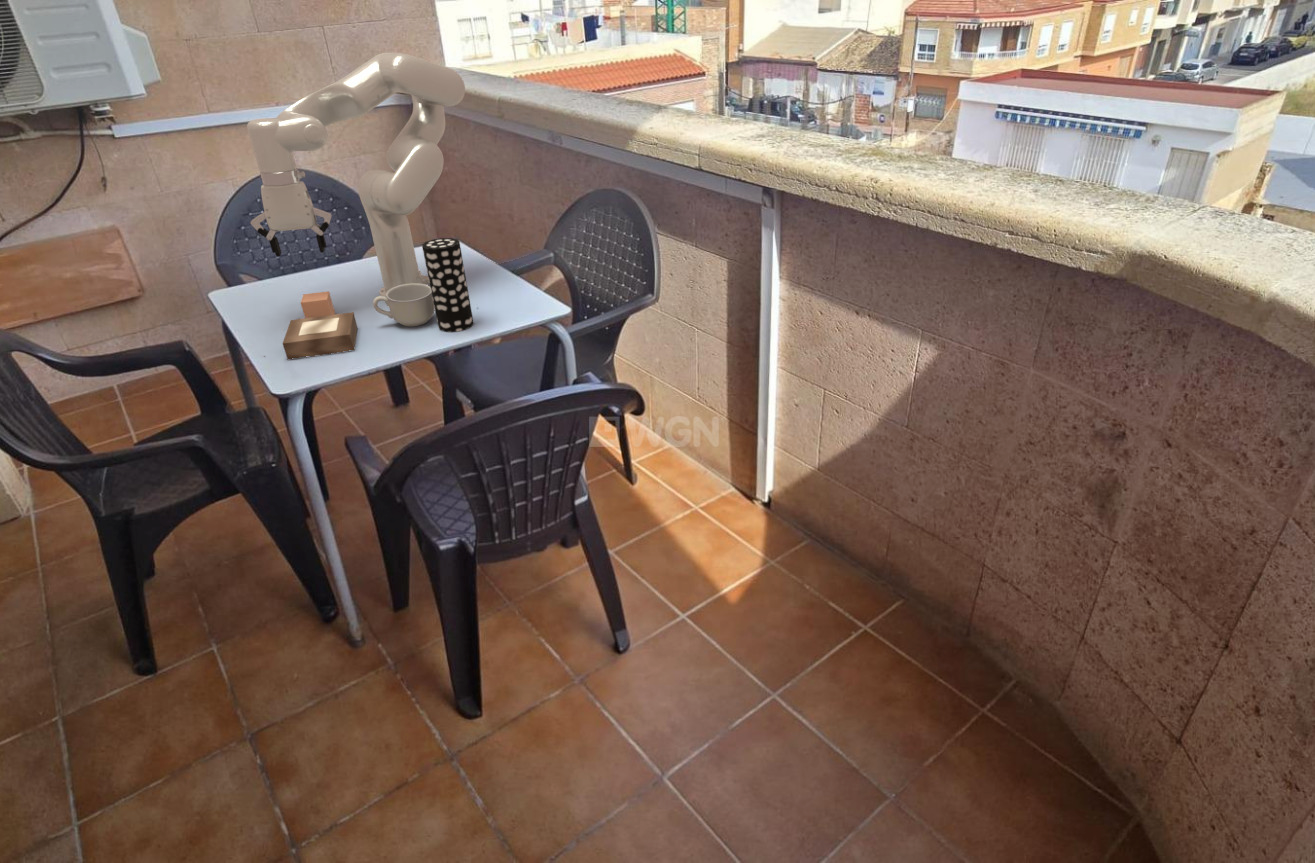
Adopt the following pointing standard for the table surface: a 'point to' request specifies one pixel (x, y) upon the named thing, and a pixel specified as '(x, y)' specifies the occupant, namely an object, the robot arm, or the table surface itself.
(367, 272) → the table surface
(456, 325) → the spotted tube
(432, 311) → the teacup
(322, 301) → the cube
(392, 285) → the robot arm
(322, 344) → the plinth
